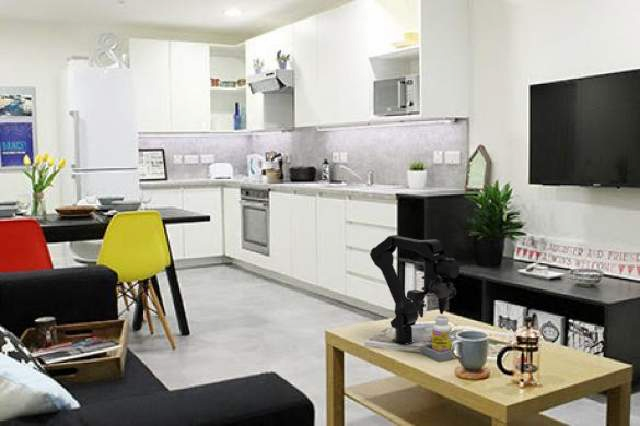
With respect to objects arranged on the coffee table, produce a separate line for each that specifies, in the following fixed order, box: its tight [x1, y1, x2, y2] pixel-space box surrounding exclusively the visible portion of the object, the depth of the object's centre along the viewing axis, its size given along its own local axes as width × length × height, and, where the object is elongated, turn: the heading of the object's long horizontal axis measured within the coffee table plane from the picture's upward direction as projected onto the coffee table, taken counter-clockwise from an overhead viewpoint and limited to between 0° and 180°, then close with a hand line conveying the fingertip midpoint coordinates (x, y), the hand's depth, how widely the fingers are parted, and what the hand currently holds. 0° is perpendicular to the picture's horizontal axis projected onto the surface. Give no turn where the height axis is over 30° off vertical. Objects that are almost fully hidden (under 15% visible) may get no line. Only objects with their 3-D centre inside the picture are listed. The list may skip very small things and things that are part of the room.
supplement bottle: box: [431, 315, 452, 353], centre depth 245 cm, size 7×7×13 cm
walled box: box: [419, 343, 456, 363], centre depth 246 cm, size 11×11×3 cm
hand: (431, 315), depth 251 cm, fingers open, 9 cm apart
